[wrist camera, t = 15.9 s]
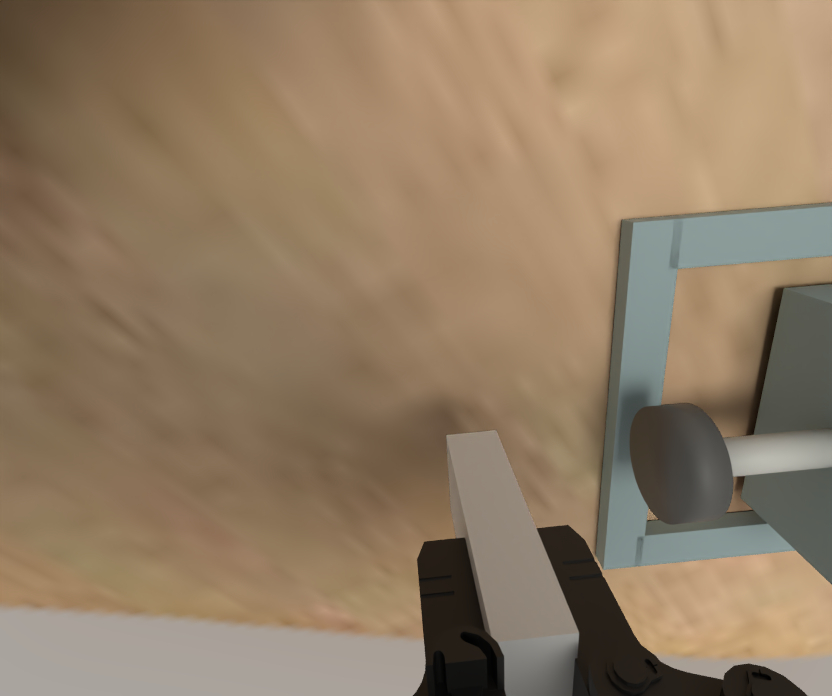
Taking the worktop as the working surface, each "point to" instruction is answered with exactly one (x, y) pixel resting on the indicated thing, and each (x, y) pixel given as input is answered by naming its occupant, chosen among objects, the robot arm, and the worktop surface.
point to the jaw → (755, 441)
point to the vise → (646, 360)
